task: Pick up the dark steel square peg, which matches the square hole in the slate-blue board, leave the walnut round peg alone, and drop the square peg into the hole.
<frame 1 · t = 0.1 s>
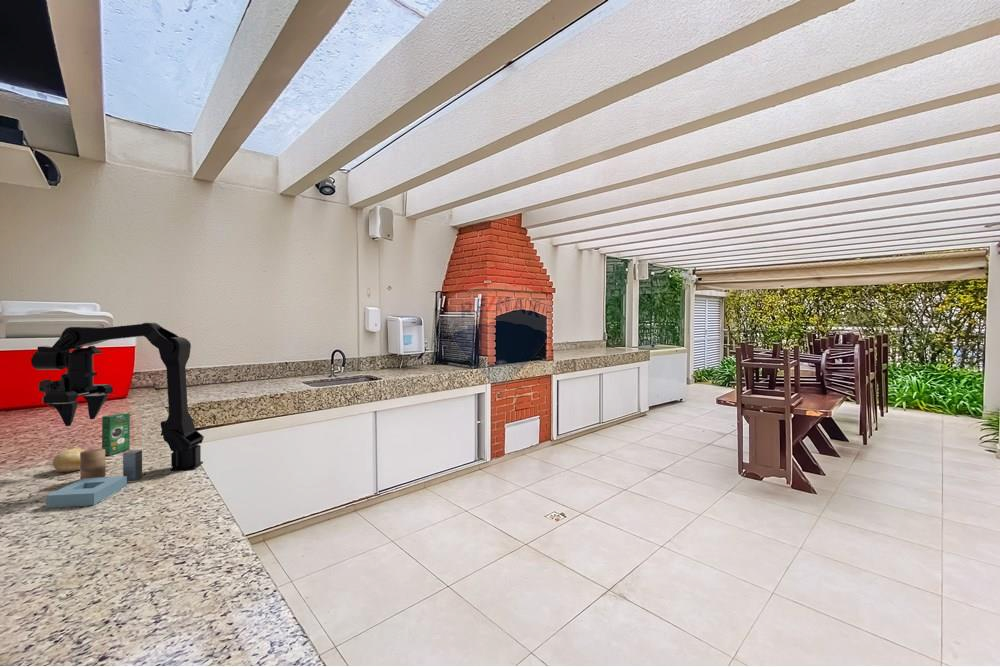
hand: (80, 422, 130), 15 cm above the countertop, tool pointing down, fingers open, 9 cm apart
round peg: (93, 479, 124), on the countertop
socket board: (88, 497, 112), on the countertop
coffee box: (116, 453, 150), on the countertop
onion: (71, 471, 132), on the countertop
square peg: (132, 480, 124), on the countertop
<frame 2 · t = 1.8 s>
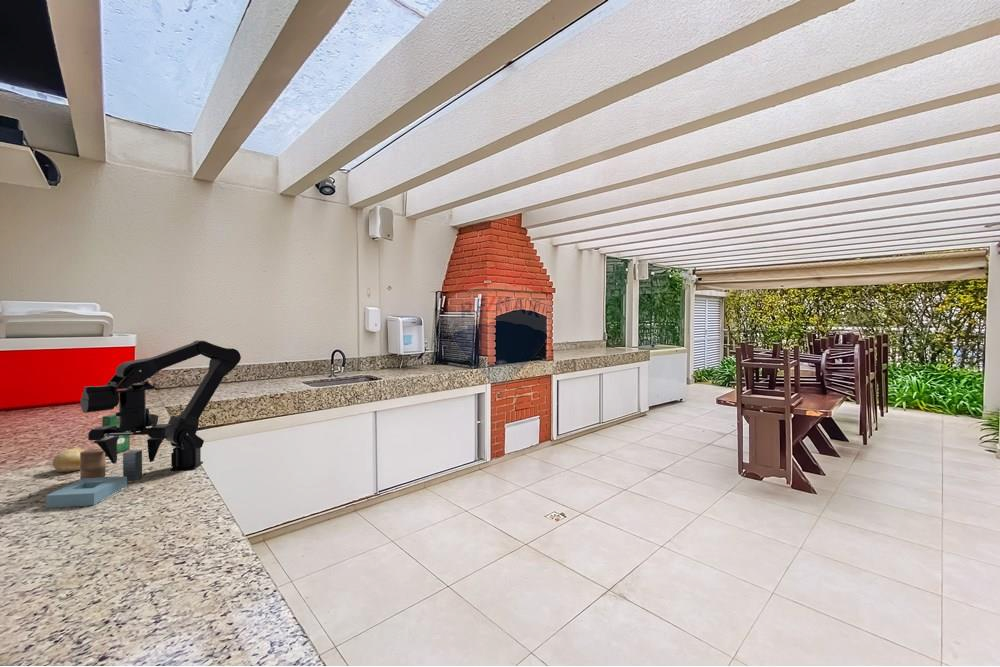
hand: (133, 462, 124), 5 cm above the countertop, tool pointing down, fingers open, 9 cm apart
nothing on the countertop moved.
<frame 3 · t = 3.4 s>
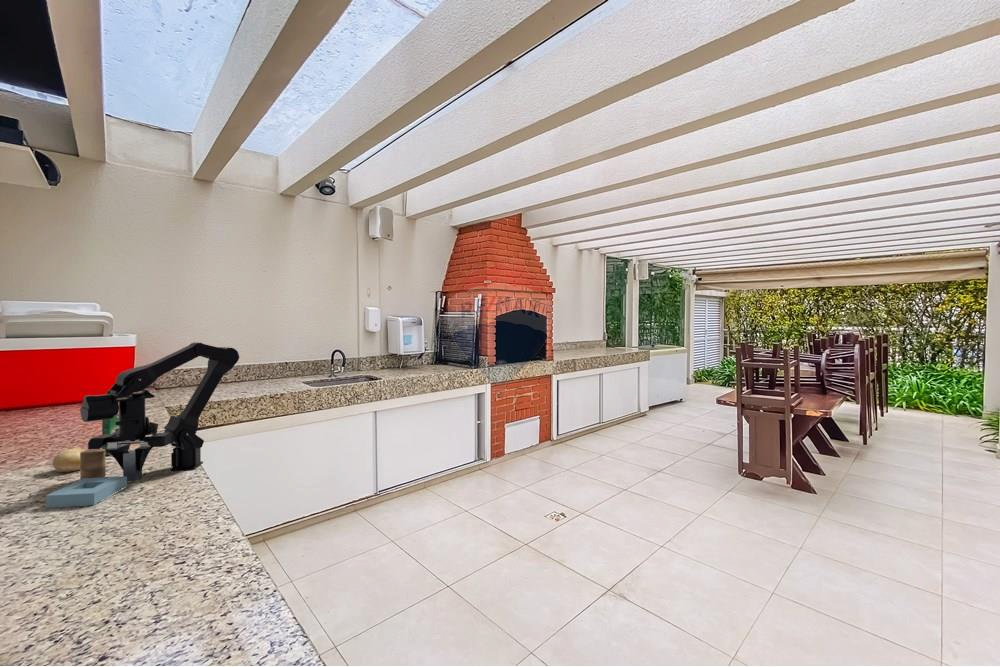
hand: (132, 471, 124), 3 cm above the countertop, tool pointing down, fingers closed on square peg, 3 cm apart
square peg: (132, 480, 124), on the countertop, touching gripper
everything else where it was.
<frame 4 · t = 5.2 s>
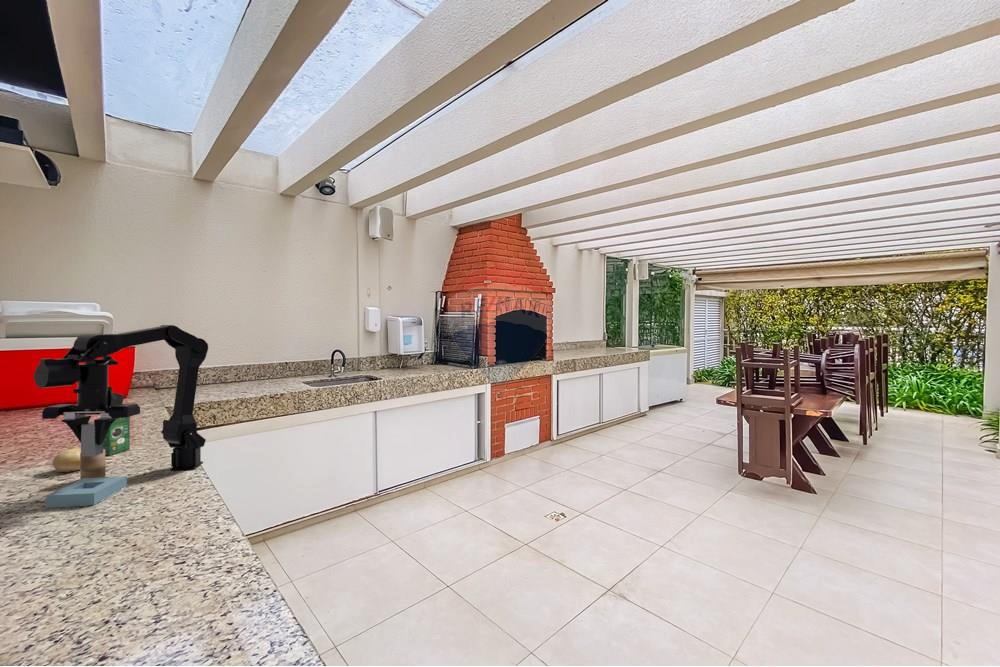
hand: (92, 444, 112), 13 cm above the countertop, tool pointing down, fingers closed on square peg, 3 cm apart
square peg: (92, 454, 112), point 10 cm above the countertop, touching gripper
everything else where it was.
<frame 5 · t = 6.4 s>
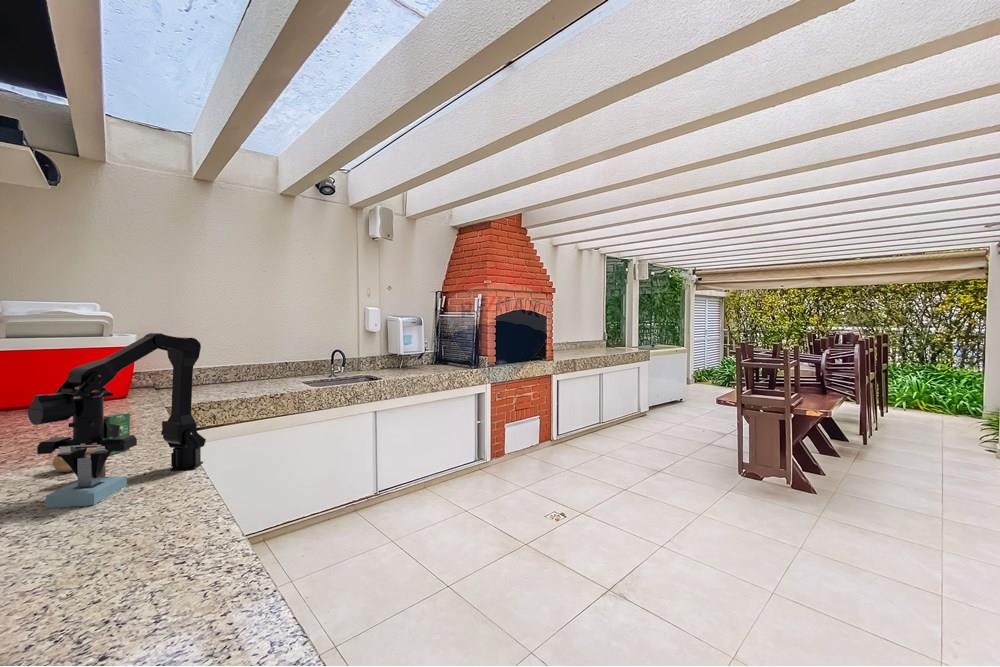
hand: (89, 478, 112), 5 cm above the countertop, tool pointing down, fingers closed on square peg, 3 cm apart
square peg: (89, 487, 112), point 2 cm above the countertop, touching gripper
everything else where it was.
when the fingers open (4 cm above the countertop, at t = 7.1 s): square peg drops 1 cm, resting in socket board.
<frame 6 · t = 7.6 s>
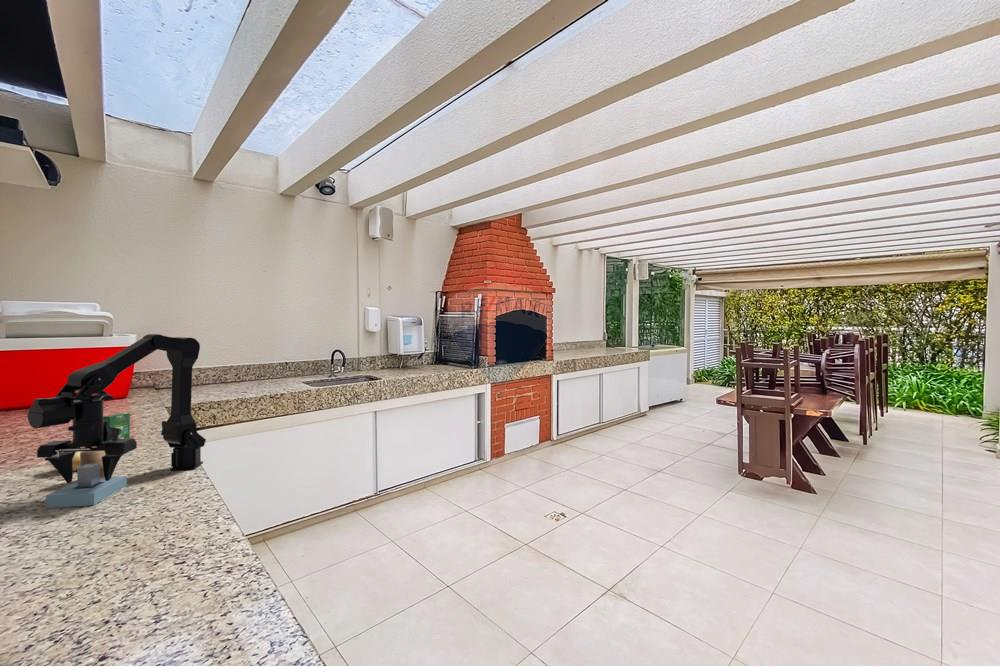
hand: (88, 481, 112), 4 cm above the countertop, tool pointing down, fingers open, 8 cm apart
square peg: (89, 497, 112), resting in socket board
everything else where it was.
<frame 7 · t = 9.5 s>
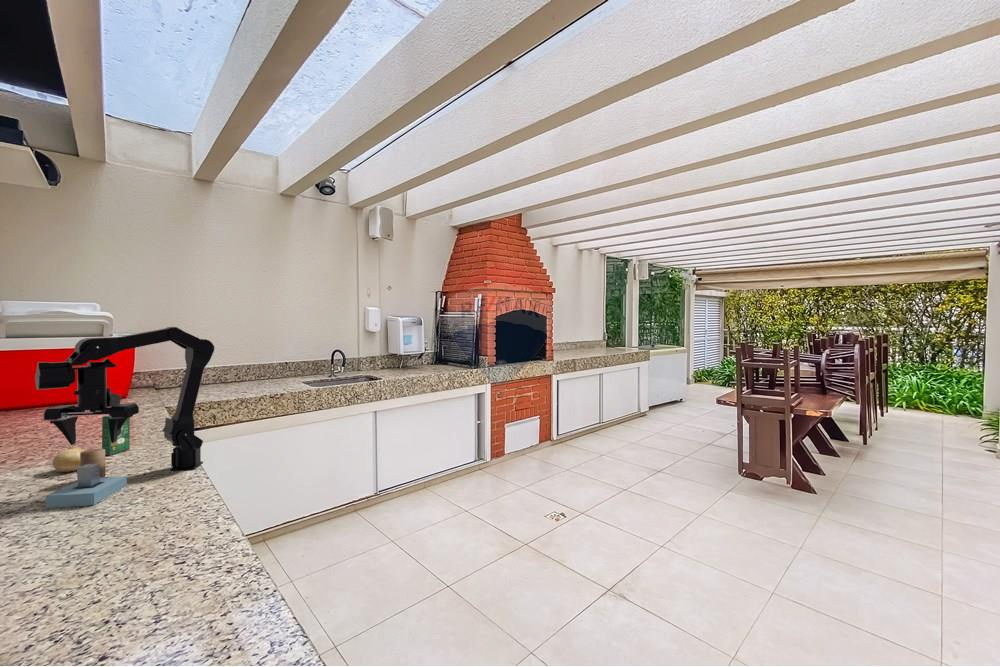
hand: (93, 443, 118), 12 cm above the countertop, tool pointing down, fingers open, 9 cm apart
nothing on the countertop moved.
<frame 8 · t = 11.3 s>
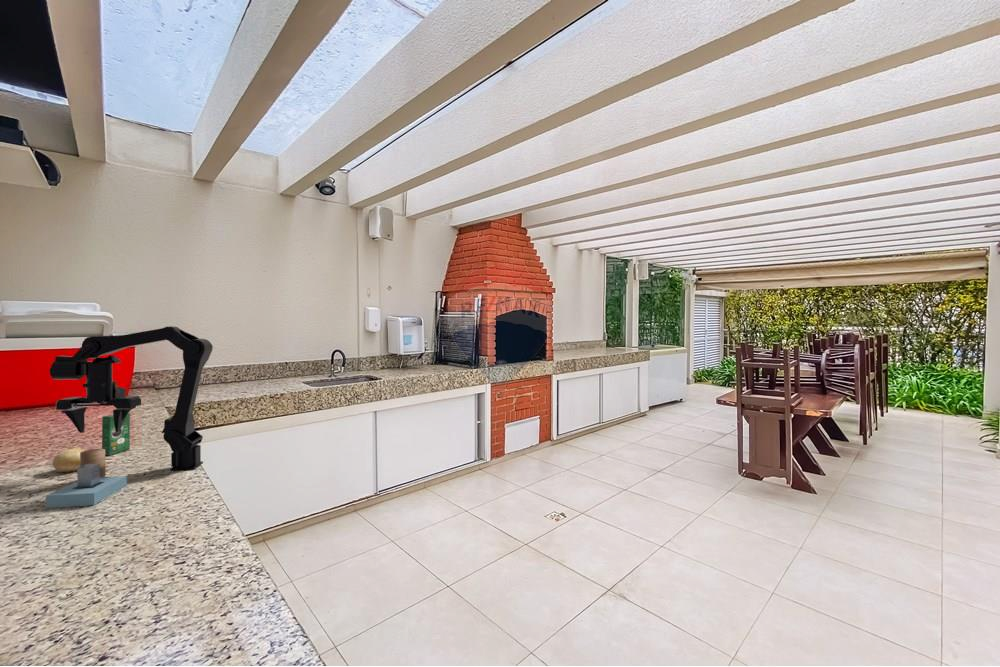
hand: (100, 432, 129), 12 cm above the countertop, tool pointing down, fingers open, 9 cm apart
nothing on the countertop moved.
at the end: square peg 0.0 cm off-centre on the socket board, point 0.0 cm above the socket board's base; square peg tilted 0°; the gripper is holding nothing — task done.
